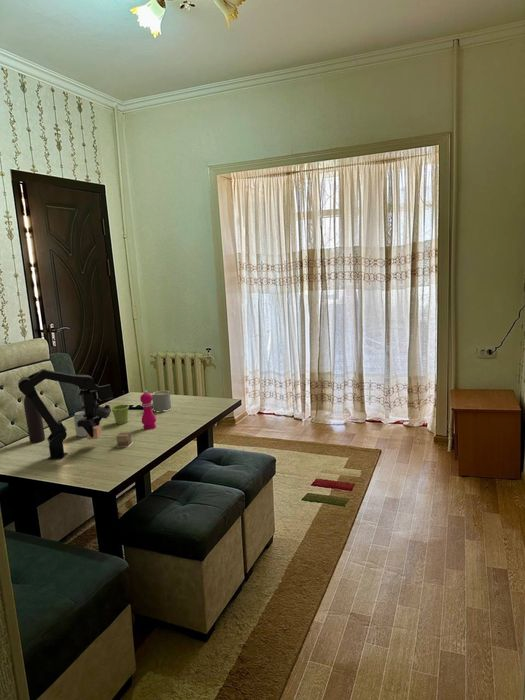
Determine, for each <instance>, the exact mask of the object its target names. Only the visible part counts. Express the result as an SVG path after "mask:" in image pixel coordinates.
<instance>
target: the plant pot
mask: <svg viewBox="0 0 525 700" xmlns="http://www.w3.org/2000/svg"><path fill="white" fill-rule="evenodd" d="M129 408H130V404H118V405H114V406H112V407H110V409H111V412H112V413H113V416H114V421H115V424H116V423H117V424H116V425H123V424H122V423H124V424H126V423H128V422H129V421H128V419H129Z"/></svg>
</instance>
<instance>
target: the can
mask: <svg viewBox="0 0 525 700" xmlns="http://www.w3.org/2000/svg"><path fill="white" fill-rule="evenodd" d="M84 414H85V411H84V410H81V411H77V412H74V416H73V421H74V427H75V433H76V434H75V435H76V436H77V437H78V438H87V433H86V430H85V429H84V428H83V427H78V426H77V422H78V421H79V420H80V419H82V418H86V417H83V415H84Z"/></svg>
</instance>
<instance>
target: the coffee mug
mask: <svg viewBox="0 0 525 700" xmlns="http://www.w3.org/2000/svg"><path fill="white" fill-rule="evenodd" d="M151 395H152V401H151V402H152V405H151V408H153V411H154V410H155V411H163V410H168V409H170V408H171V409H172V403H171V392H170V391H169V390H158V391H154V392H152V394H151Z"/></svg>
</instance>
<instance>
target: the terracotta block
mask: <svg viewBox="0 0 525 700" xmlns="http://www.w3.org/2000/svg"><path fill="white" fill-rule="evenodd" d="M93 431H94V435H93V437H90V435H89V434H88V433H87V431H86V433H87V436H86V439H87V440H89V441H90V440H99V439H100V438H101V437H102V436H103V431H102V425H101V424H99V425H94V426H93Z"/></svg>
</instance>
